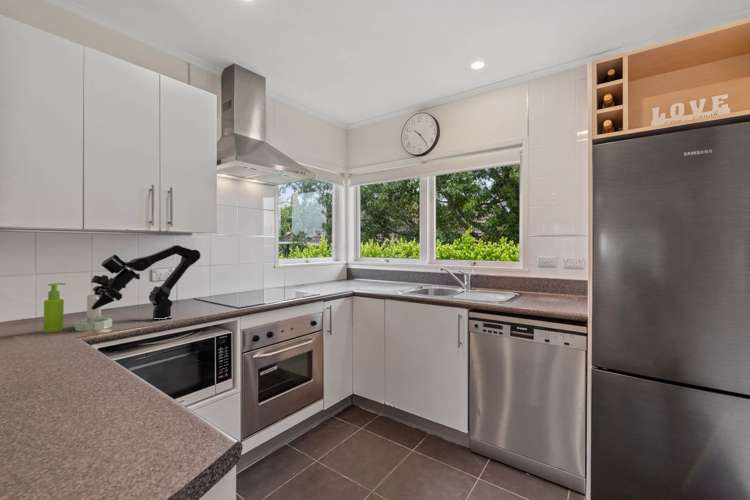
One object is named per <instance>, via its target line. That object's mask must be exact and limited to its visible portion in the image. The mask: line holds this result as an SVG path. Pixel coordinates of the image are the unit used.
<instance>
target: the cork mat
mask: <svg viewBox="0 0 750 500" xmlns="http://www.w3.org/2000/svg"><path fill="white" fill-rule="evenodd" d="M112 331H113V329H111V328H110V329H109V328H104V329H98V330H89V331H81V332H80V335H84V336H90V335H91V336H92V335H100V334H107V333H109V332H112Z"/></svg>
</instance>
